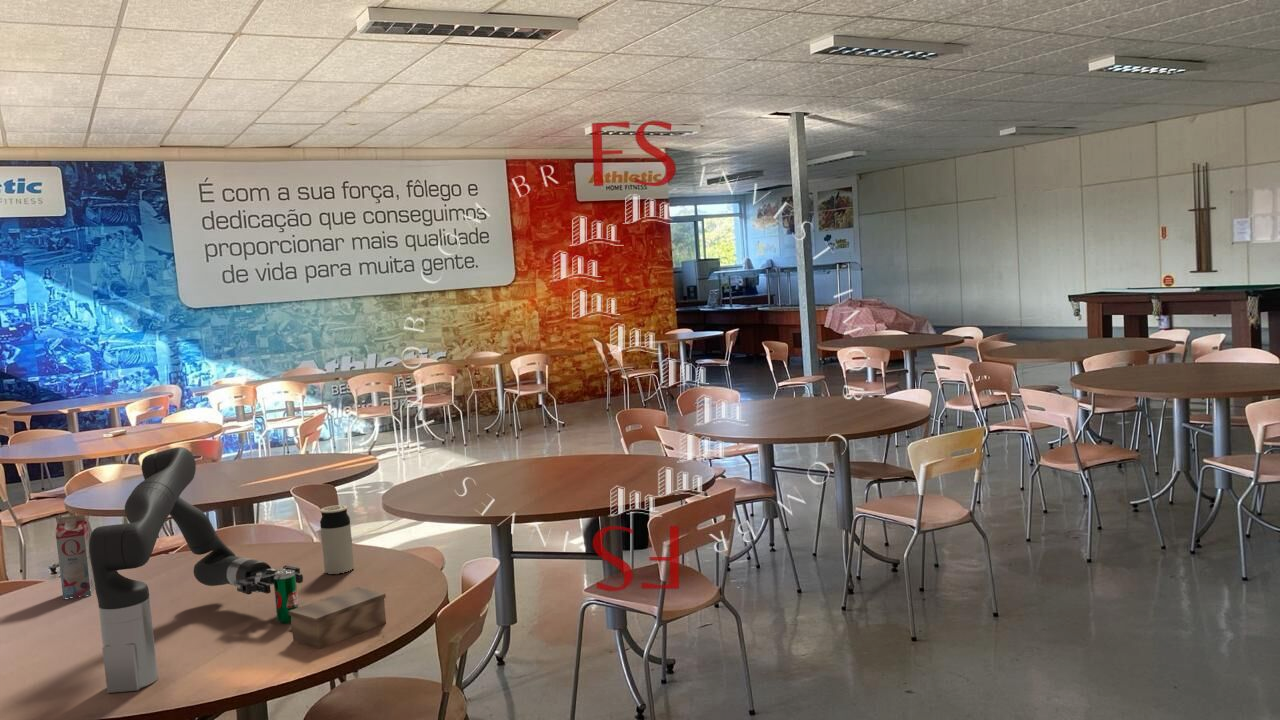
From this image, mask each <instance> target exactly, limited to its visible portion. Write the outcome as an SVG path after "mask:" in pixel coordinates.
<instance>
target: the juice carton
mask: <svg viewBox="0 0 1280 720" xmlns="http://www.w3.org/2000/svg"><path fill="white" fill-rule="evenodd" d="M89 532H90V530H89V524H88V522H87V521H86V516H85V514H77V515H76V514H75V515H68V516H60V517H56V528H55V540H56V546H57V556H58V563H59V564H58V565H59V566H58V567H59V574H60V582H61V589H62V591H61V592H62V598H63V599H65V598H70V597H79V596H86V595H91V594H92V593H94V592H95V590H94V589H95V583H94V577H93V571H92V566H91V560H90V554H89V540H90V534H89ZM90 589H91V591H90ZM93 591H94V592H93ZM92 595H93V594H92ZM92 595H91V596H92ZM86 597H87V596H86ZM79 598H80V597H79Z"/></svg>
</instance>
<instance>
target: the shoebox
mask: <svg viewBox="0 0 1280 720" xmlns="http://www.w3.org/2000/svg"><path fill="white" fill-rule="evenodd" d="M386 598H387V595H386V593H384V592H380V591H376V590H371V589H368V588H365V587H364V588H363V587H359V586H356V587H355V588H351V589H348V590H345V591H343V592H339V593H336V594H334V595H331V596H327V597H326V598H322V599H320V600H317V601H314V602H311V603H308V604H307V603H306V604H304V605H302V606H299V608H296V609H293V610H290V611H288V612H289V616H291V623H292V627H291V632H292V641H293V642H295V643H298V644H302V645H305V646H307V647H308V646H309V647H311V648H314V649H318V650H321V649H323V648H326V647H328V646H330V645H333V644H336V643H338V642H340V641H343V640H346V639H348V638H351V637H354V636H356V635H359V634H361V633H364V632H366V631H369V630H372V629H374V628H376V627H379V626H382V625H385V624H386V623H387V618H386V617H387V615H386V607H385V605H386V604H385V599H386ZM291 623H290V624H291Z"/></svg>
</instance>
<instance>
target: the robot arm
mask: <svg viewBox="0 0 1280 720" xmlns="http://www.w3.org/2000/svg"><path fill="white" fill-rule="evenodd" d="M196 463H197V462H196V458H195V456H194V455H193V452H192V451H191V450H189V449H188V448H186V447H180V446H179V447H172V448H169V449H165V450H161V451H157V452H154V453H151V454H148V455H145V457H143V459H142V460H141V473H142V476H143V479H144V480H142V482H140V483H139V484H137V485H136V487H135V488H134V489H133V490H132V492H131V493H130V494H129V496H128V497H127V499H126V501H125V504H124V515H125V518H126V520H127V521H128V522H129V523H119V524H110V525H101V526H97V527H96V528H94V529H93V530H92V531H91V533H90V535H89V554H90V560H91V566H92V571H93V577H94V584H95V590H94V591H95V594H96V595H95V596H96V598H97V603H98V612H99V621H100V622H99V623H100V629H101V630H100V631H101V638H102V639H101V640H102V657H103V665H104V674H105V683H106V692H107V694H111V693H123V692H124V693H125V692H133V691H134V692H135V691H139V690H140V689H143V688H145V687H147V686H149V685H151V684H154V683H155V682H156V681H157V680H158V679H159V675H158V674H159V673H158V665H157V657H156V656H157V655H156V648H155V635H154V629H153V620H152V618H153V617H152V609H151V602H150V601H151V598H150V591H149V586H148V584H146V582H143V581H140V580H135V579H132V578H131V579H130V578H128V577H126V576H124V575H122V574H121V573H119V572H118V571H122V570H123V571H125V570H129V569H130V570H132V569H137V568H140V567H143V566H145V565H146V564H147V563H148V562H149V560H150V558H151V556H152V554H153V551H154V548H155V545H156V543H157V540H158V537H159V535H160V534H159V533H160V532H161V530H162V528H163V526H164V524H165V522H166V521H167V519H168V517H169V516H170V517H171V518H172V520H173V521H174V522H175V524H176V526H177V527H178V529H179V530H180V532H181V534H182V536H183V538H184V541H185V542H186V544H187V546H188V548H189V550H190V551H191V552H192V554H194V555H197V556H198V555H199V556H200V555H205V554H206V555H205V556H204V557H202V558H201V559H200V560H198V561H197V562H196V563H195V565H194V566H193V577H194V578H195V580H197V581H198V582H199V583H200V584H203V585H205V586H209V587H216V586H224V585H231V586H234V587H235V588H236V591H237V592H240V593H242V594H245V595H252V594H253V593H263V594H267V595H268V594H271V591H272V590H271V586H274V582H273V577H274V573H275V572H277V571H280V570H287V569H290V570H293V571H294V573H295V575H296V584H302V583H303V582H304V576H303V574H302V573H301V568H300V567H298V566H297V567H295V566H291V565H283V567H282V568H277V569H276V568H274V567H273V568H272V567H271V566H270V565H269V564H268V563H267V562H266V561H261V560H257V559H253V558H249V557H240V556H236V554H235V553H234V552H233V551H232V550H231V549H230V548H229V547H228V546H227V545H226V544H225V543H224V542H223V541H222V540H221V539H220V537H219V536H218V535H217V532H216V530H215V528H214V526H213V524H212V522H211V521H210V518H209V517H208V516H207V515H206V513H204V511H202V510H201V509H200V508H197V507H196V506H194V505H193V504H191V503H189V502H188V501H186V500H185V499H183V498H182V497H180V496H181V494H182V493H183V492H184V491H185V489H186V488H187V487H188V486H189V485H190V483H192V481H193V480H194V478H195V475H196V468H197V464H196Z"/></svg>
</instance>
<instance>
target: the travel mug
mask: <svg viewBox="0 0 1280 720" xmlns="http://www.w3.org/2000/svg"><path fill="white" fill-rule="evenodd" d="M348 508H349V506H348V505H345V504H338V505H337V504H335V505H329V506H326V507H325V506H324V507H322V508H321V509H320V510H319V511H320V513H321V518H320V520H319V523H320V535H321V544H322V557H323V558H322V559H323V568H324V573H325V574H327V573H328V575H331V574H336V575H339V574H338V573H343V572H347V573H349V572H351V571H353V570H354V568H355V561H354V552H353V539H352V528H351V518H350V516H349V515H348ZM352 569H353V570H352ZM350 570H351V571H350ZM348 571H349V572H348ZM343 574H344V573H343Z"/></svg>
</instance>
